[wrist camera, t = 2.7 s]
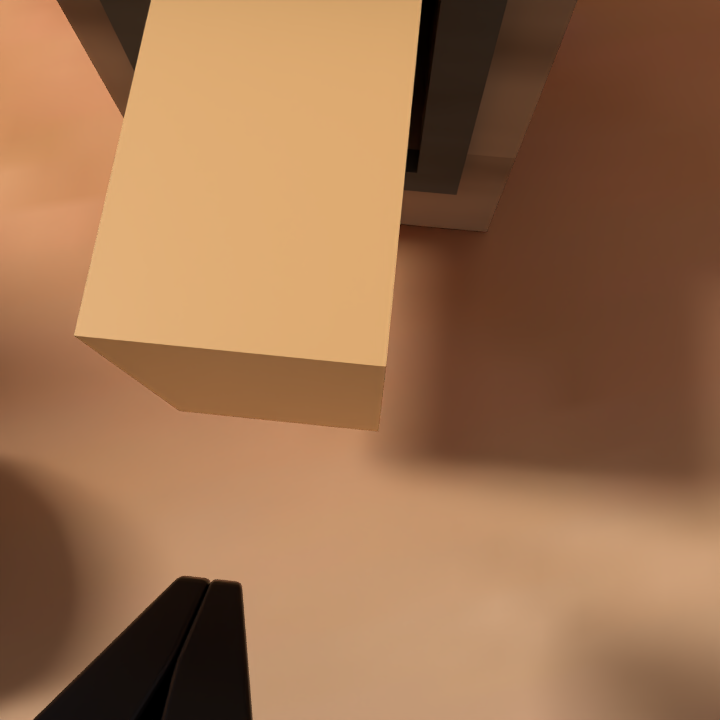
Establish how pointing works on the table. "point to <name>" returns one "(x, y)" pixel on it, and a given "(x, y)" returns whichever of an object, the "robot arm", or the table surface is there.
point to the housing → (430, 92)
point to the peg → (258, 208)
